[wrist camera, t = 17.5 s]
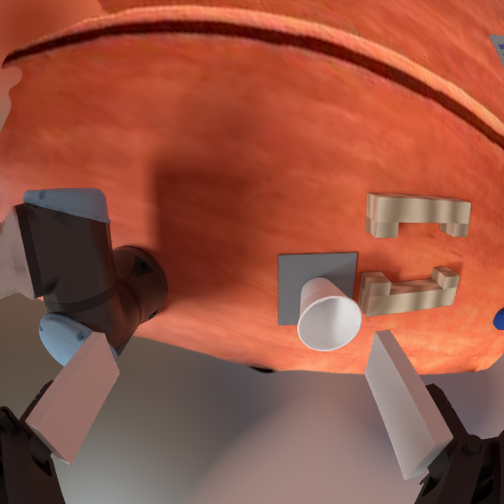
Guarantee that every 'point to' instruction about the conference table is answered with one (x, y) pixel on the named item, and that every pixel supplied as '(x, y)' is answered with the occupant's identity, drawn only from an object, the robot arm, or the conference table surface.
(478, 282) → the conference table surface
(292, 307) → the coaster
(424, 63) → the conference table surface
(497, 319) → the toy
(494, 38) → the remote control
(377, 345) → the robot arm
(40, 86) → the conference table surface
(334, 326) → the cup
